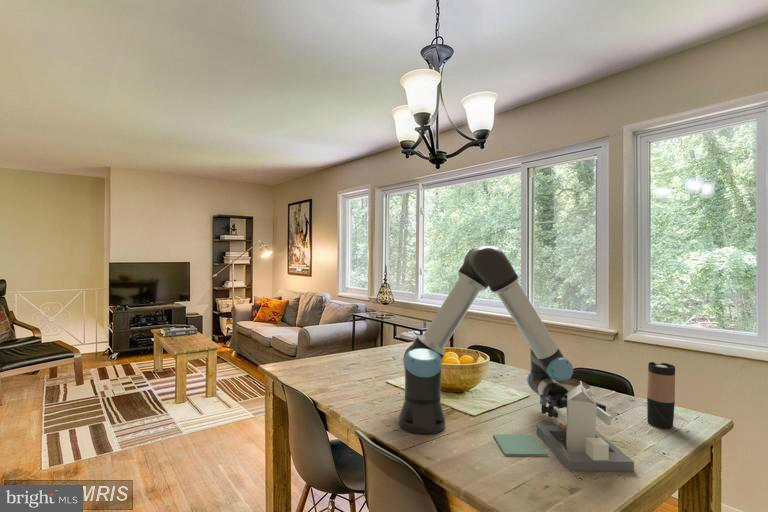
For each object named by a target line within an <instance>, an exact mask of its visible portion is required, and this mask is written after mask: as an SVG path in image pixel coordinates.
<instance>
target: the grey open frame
mask: <svg viewBox="0 0 768 512" xmlns="http://www.w3.org/2000/svg"><path fill="white" fill-rule="evenodd" d="M566 427H567V423H566V425H563V424H562V423H559V425H558V424H557V425H556V424H555V425H551V424H549V425H548V424H544V425H543V424H541V425H540V424H539V425H538V424H537V425H536V434H537V435H538V437H539V438H541V440H542V441H543V442H544V444H545V445H546V446H547V447H548V448H549V450H550V451H552V453H553V454H554V455H555V456H556V458H558V459H559V461H560V460H561V461H560V462H561V463H562V464H563V465H564V467H565V468H566V469H567V468H568V469H569V470H568V469H567V470H568V471H570V470H579V472H608V471H607V470H610V471H609V472H634V471H635V461H634V460H633V459H631V458H630V457H629V456H628V455H627V454H626V453H624V452H623V451H622V450H621V449H619V448H618V447H617V446H616V445H614V444H613V443H612V442H611V441H610V440H608V439H607V438H606V437H604V436H603V435H602V434H601V433H600V432H598V430H596V429H595V438H586V452H568V451H567V448H565V447H564V446H563V444H562V443H560V442H559V440H566ZM601 470H602V471H601ZM570 472H571V471H570Z"/></svg>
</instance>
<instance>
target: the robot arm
mask: <svg viewBox="0 0 768 512" xmlns="http://www.w3.org/2000/svg"><path fill="white" fill-rule="evenodd" d="M457 274H458V280H457V281H456V282H455V284H454V286H453V287H452V289H451V290H450V292H449V293H448V295H447V297H446V299H445V300H444V302H443V303H442V304H441V306H440V308H439V309H438V311H437V313H436V315H434V317H433V319H432V321H431V322H430V324H429V325H428V327H427V329H426V330H425V332H424V333H423V334H420V335H417V336H416V337H415V339H414V341H413V343H412V344H411V345H410V346H408V347H407V348H406V350H405V352H404V354H403V358H402V362H403V364H402V365H403V368H404V401H403V404H402V407H401V410H400V413H399V416H398V425H399V427H400V428H401V429H402V430H404V431H406V432H409V433H412V434H418V435H433V434H437V433H440V432H442V431H443V430H445V428H446V416H445V412H444V409H443V405H442V402H441V399H442V398H441V395H442V394H441V393H442V392H441V390H442V387H441V386H442V383H441V382H442V367H443V364H442V360H443V358H444V357H445V355H446V351H445V347H446V345H447V344H448V343H449V341H450V339H451V337H452V336H453V334H454V333H455V331H457V328H458V327H459V325H460V324H461V321H462V320H463V318H464V317H465V316H466V314H467V313H468V311H469V310H470V307H471V306H472V304H473V303H474V302H475V299H476V298H477V297H478V295H479V294H480V292H482V291H486V290H487V289H488V287H489V289H490V290H491V293H494V294H496V295H497V296H498V297H499V299H500V301H501V303H502V304H503V306H504V307H505V309H506V311H507V312H508V313H509V316H510V317H511V318H512V320H513V322H514V323H515V325H516V326H517V328H518V330H519V331H520V333H521V334H522V336H523V337H524V339H525V341H526V343H527V344H528V346H529V355H530V356H529V357H530V372H529V373H528V375H527V376H526V382H527V384H528V386H529V387H530V388H531V390H532V391H533V392H535V394H537V395H538V396H539V403H540V405H541V414H542V415H545V414H547V416H548V418H555V419H556V420H557V421H559V423H560V424H563V425H566V424H567V414H565V412H563V411H562V410H561V409H563V408H566V409H567V392H568V390H567V389H566V388H565V387H563V386H562V385H561V384H559V383H558V382H557V381H560V382H563V381H566V380H568V379H569V378H571V377H572V376H573V374H574V367H573V364H572V363H571V362H570V361H569V359H567V358H566V357H565V356H564V354H563V353H562V352H561V350H560V349H559V347H558V345H557V344H556V342H555V340H554V338H553V337H552V335H551V334H550V332H549V330H548V329H547V327H546V325H545V324H544V323H543V321H542V319H541V318H540V316H539V314H538V313H537V311H536V309H535V308H534V306H533V305H532V302H531V301H530V300H529V298H528V296H527V295H526V293H525V291H524V290H523V289H522V287H521V285H520V284H519V281H518V280H519V279H520V278H519V276H518V274H517V272H516V270H515V269H514V267H513V265H512V263H511V262H510V260H509V259H508V257H507V255H505V253H504V251H502V250H501V249H500V248H499V247H496V246H492V245H479V246H475V247H473V248H472V249H470V250H469V251H468V252H467V253H466V255H465V258H464V260H463V262H462V265H461V267H460V269H459V270H458V271H457ZM554 379H555V380H556V381H555V380H554ZM595 402H596V418H597V419H599V420H601V422H603V423H604V424H606V425H607V426H611V425H612V415H610V414H609V413H608V412H607V406H606V405H605V404H603V403H599V402H597V401H595ZM547 405H548V406H547Z"/></svg>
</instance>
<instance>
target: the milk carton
mask: <svg viewBox="0 0 768 512" xmlns="http://www.w3.org/2000/svg"><path fill="white" fill-rule="evenodd" d="M579 381H580V385H578V386H577V387H575V388H574V389H572V390H571V391H569V392H567V408H566V424H567V427H566V439H565V443H566V444H565V445H566V450H567V451H568V452H586V438H595V430H596V425H597V424H596V422H597V421H596V420H597V417H596V402H597V401H596V399H595V397H594V396H595V393H594V392H593V391H592V389H591V388H590V389H587V390H586V389H585V388H584V387H583V386H582V383H581V382H582V380H579Z"/></svg>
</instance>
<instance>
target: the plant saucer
mask: <svg viewBox="0 0 768 512" xmlns="http://www.w3.org/2000/svg"><path fill="white" fill-rule="evenodd" d="M554 380H555V379H554ZM555 381H556V380H555ZM580 381H581V380H578V379H574V378H571V377H570V378H569V379H568V380H566V381H563V382H560V381H557V382H558V383H559V384H561V385H562V386H563V387H565V388H566V389H567V390H568V392H569V391H571V390H572V389H574V388H575V387H577V386H578V385H580ZM581 383H582V386H583V387H584V388H585V389H586V390H587V389H590V390H591V386H590V385H589V384H588V383H586V382H584V381H581Z"/></svg>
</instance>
